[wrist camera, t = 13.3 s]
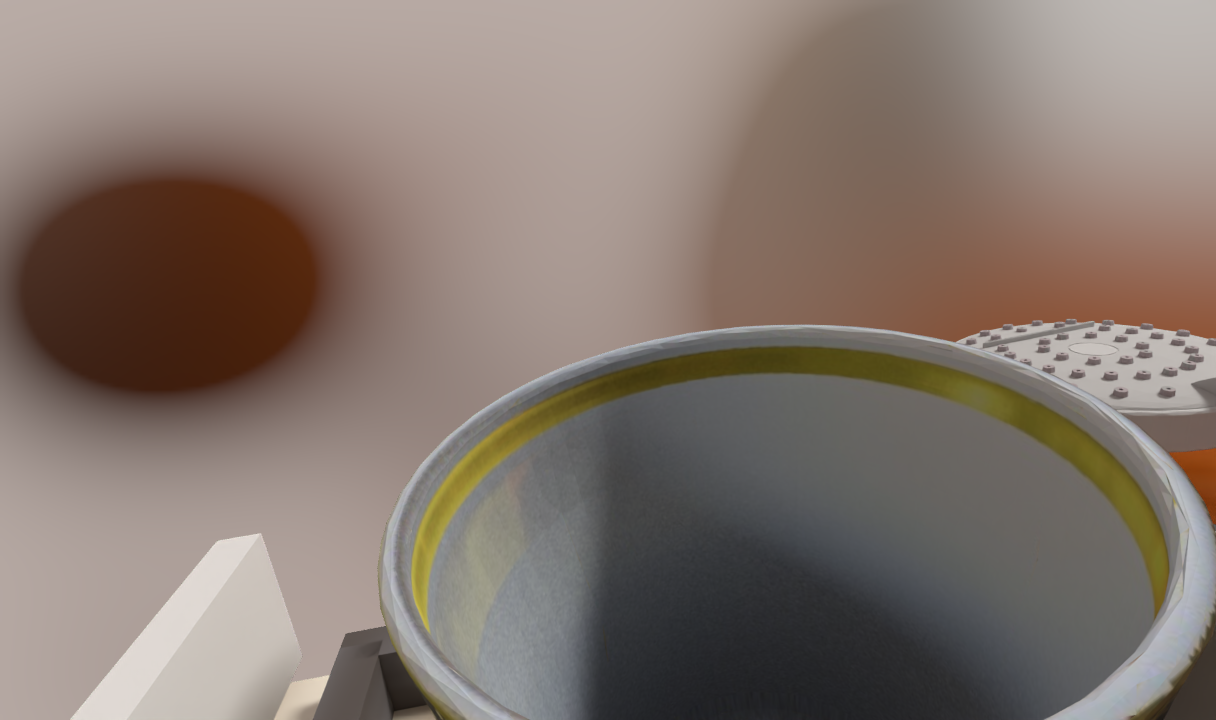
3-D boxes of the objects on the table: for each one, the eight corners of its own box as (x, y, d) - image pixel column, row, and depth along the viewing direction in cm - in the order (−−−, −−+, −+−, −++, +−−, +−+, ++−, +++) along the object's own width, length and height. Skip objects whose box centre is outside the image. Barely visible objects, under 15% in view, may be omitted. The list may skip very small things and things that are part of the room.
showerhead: (1122, 411, 17) (891, 325, 26) (1093, 635, 19) (890, 482, 29) (1405, 348, 18) (1089, 288, 28) (1348, 564, 20) (1074, 440, 30)
